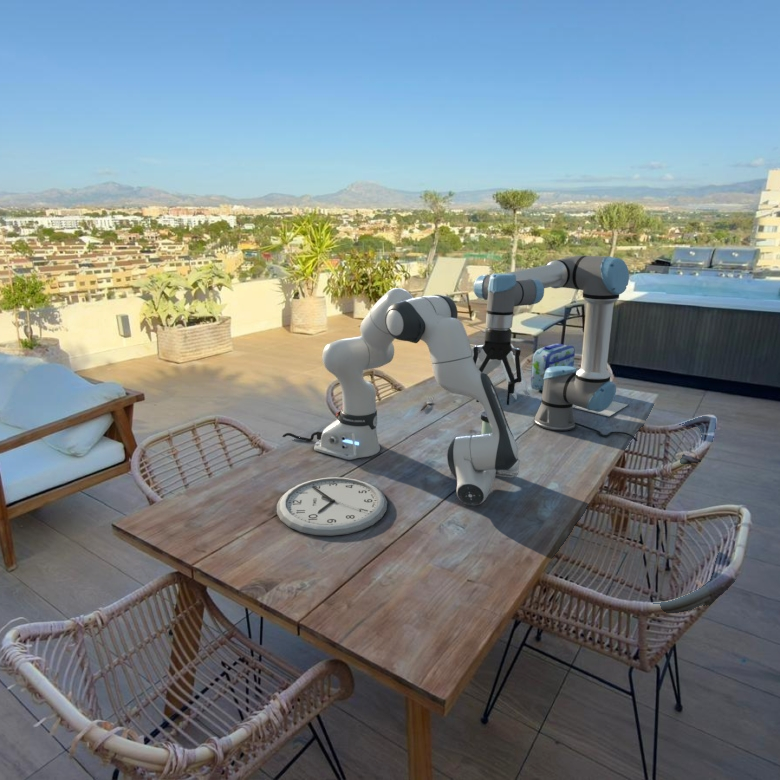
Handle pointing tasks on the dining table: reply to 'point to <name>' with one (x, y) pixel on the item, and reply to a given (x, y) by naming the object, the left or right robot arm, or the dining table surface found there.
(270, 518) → the dining table surface
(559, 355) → the lunch box
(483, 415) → the lid
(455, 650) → the dining table surface
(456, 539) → the dining table surface
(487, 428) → the bottle
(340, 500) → the wall clock
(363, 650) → the dining table surface
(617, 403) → the invitation card
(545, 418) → the right robot arm
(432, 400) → the fork
